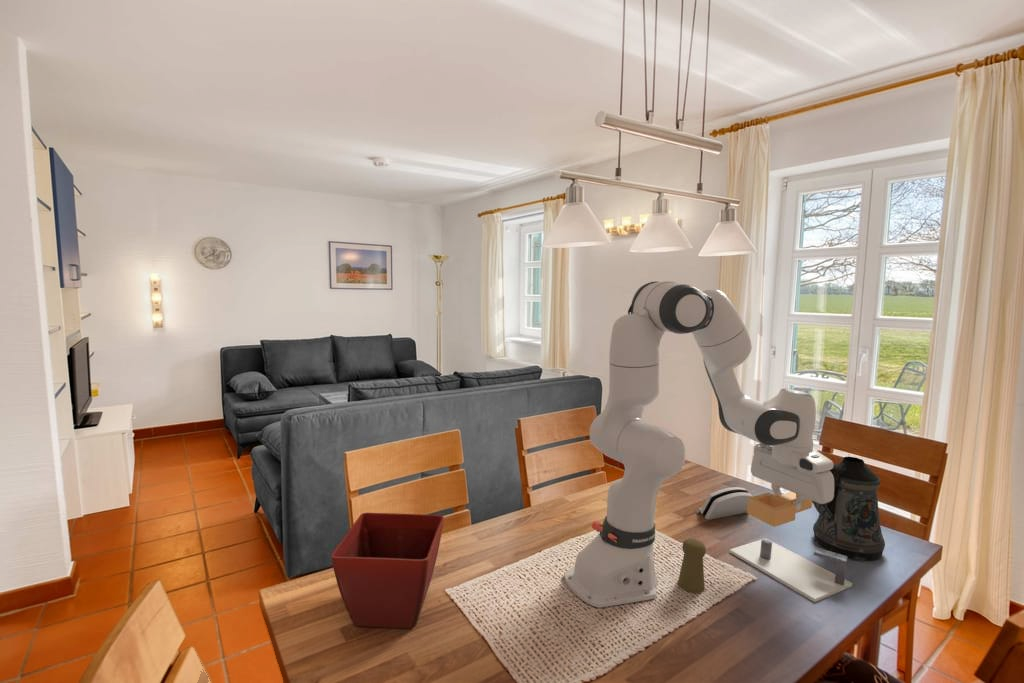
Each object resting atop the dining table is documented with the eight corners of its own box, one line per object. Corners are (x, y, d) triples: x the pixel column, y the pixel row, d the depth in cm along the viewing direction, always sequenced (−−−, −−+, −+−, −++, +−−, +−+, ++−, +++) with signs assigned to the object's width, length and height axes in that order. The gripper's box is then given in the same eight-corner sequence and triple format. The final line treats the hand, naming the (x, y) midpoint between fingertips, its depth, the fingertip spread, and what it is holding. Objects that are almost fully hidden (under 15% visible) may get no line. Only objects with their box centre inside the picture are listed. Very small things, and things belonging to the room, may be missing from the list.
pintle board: (814, 602, 112) (816, 581, 112) (729, 552, 133) (731, 534, 132) (851, 586, 119) (854, 566, 118) (765, 540, 139) (766, 524, 139)
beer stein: (891, 549, 136) (902, 462, 134) (868, 573, 124) (879, 478, 122) (825, 525, 149) (833, 445, 146) (797, 545, 137) (806, 458, 134)
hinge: (736, 505, 162) (747, 481, 158) (747, 516, 158) (758, 492, 154) (695, 512, 156) (705, 488, 151) (705, 523, 152) (716, 499, 148)
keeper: (811, 578, 122) (813, 551, 121) (812, 572, 124) (815, 546, 123) (843, 588, 118) (846, 561, 117) (844, 583, 120) (847, 556, 119)
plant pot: (362, 579, 116) (362, 511, 114) (443, 583, 115) (444, 514, 114) (330, 637, 97) (329, 556, 95) (427, 642, 96) (427, 560, 95)
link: (774, 526, 118) (775, 511, 118) (746, 513, 125) (747, 498, 124) (820, 511, 126) (821, 496, 125) (792, 499, 133) (793, 485, 132)
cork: (672, 580, 119) (675, 537, 118) (691, 575, 121) (695, 533, 120) (690, 595, 113) (693, 550, 112) (710, 589, 116) (714, 545, 115)
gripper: (747, 442, 132) (743, 491, 134) (824, 469, 114) (818, 526, 115) (763, 439, 135) (759, 487, 136) (840, 464, 116) (835, 520, 118)
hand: (787, 505), depth 126 cm, fingers closed on link, 3 cm apart
